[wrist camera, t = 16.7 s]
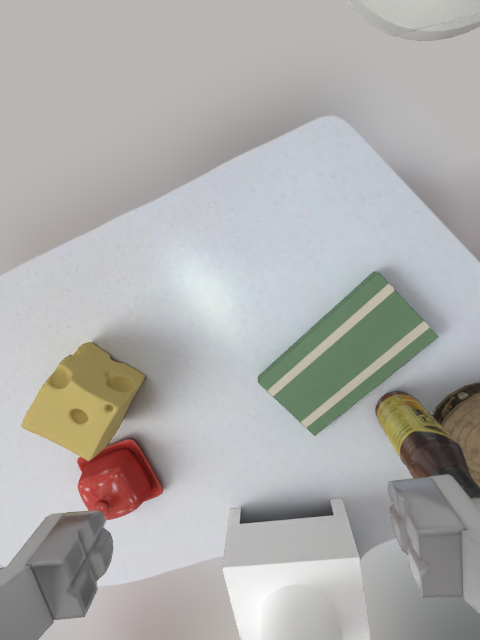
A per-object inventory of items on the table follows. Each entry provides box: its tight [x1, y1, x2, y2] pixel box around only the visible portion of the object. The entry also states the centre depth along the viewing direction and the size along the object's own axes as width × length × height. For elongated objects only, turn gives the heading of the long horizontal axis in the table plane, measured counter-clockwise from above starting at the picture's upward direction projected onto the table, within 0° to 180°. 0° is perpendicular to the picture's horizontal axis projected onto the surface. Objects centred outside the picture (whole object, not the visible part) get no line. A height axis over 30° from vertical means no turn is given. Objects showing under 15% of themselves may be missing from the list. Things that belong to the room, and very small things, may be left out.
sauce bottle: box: [376, 391, 480, 510], centre depth 38 cm, size 6×6×20 cm
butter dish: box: [77, 439, 163, 520], centre depth 50 cm, size 12×12×8 cm
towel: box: [258, 272, 438, 435], centre depth 45 cm, size 22×12×2 cm, turn 136°
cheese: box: [22, 342, 146, 461], centre depth 45 cm, size 10×11×10 cm
